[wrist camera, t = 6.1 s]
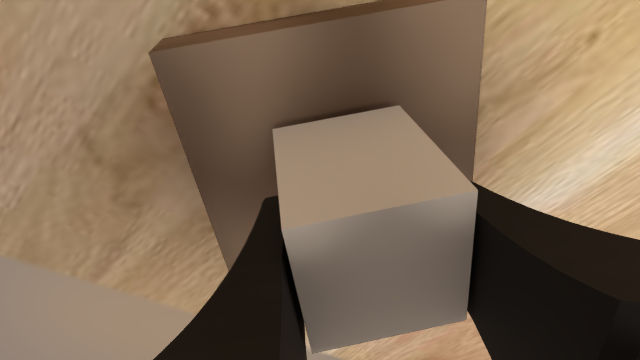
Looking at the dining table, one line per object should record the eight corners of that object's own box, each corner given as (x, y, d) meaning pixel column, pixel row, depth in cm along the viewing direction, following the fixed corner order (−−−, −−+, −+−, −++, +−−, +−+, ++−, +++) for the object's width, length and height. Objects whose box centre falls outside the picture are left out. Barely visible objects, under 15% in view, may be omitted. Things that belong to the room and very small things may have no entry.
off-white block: (294, 230, 14) (311, 353, 10) (272, 129, 12) (281, 230, 8) (402, 208, 14) (466, 320, 10) (399, 105, 12) (478, 190, 8)
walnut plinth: (239, 261, 18) (237, 294, 16) (163, 38, 13) (148, 52, 11) (447, 219, 18) (467, 246, 17) (457, -13, 13) (487, -7, 11)
